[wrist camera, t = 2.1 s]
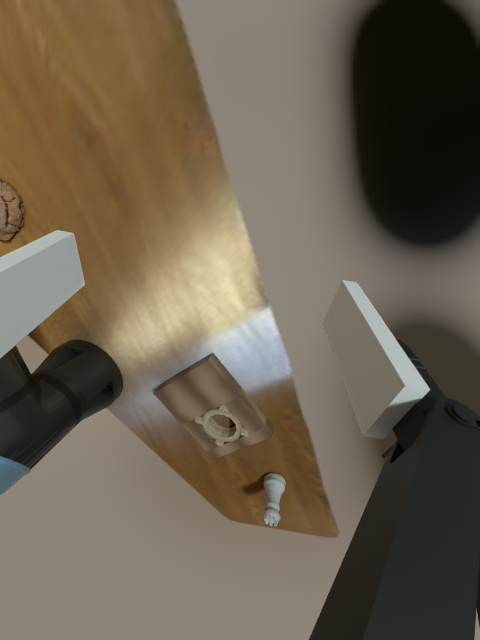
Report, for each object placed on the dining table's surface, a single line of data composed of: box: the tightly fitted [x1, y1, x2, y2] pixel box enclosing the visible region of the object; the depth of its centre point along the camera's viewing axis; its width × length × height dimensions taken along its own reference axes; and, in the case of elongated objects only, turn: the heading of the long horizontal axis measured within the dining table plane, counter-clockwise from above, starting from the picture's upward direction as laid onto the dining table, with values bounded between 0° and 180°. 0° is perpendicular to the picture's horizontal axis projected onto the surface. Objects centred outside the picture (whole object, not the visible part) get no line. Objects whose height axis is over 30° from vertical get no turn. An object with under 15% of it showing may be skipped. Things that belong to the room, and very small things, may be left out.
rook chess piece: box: [263, 473, 286, 526], centre depth 49 cm, size 4×4×8 cm
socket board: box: [153, 353, 273, 459], centre depth 47 cm, size 14×18×2 cm
